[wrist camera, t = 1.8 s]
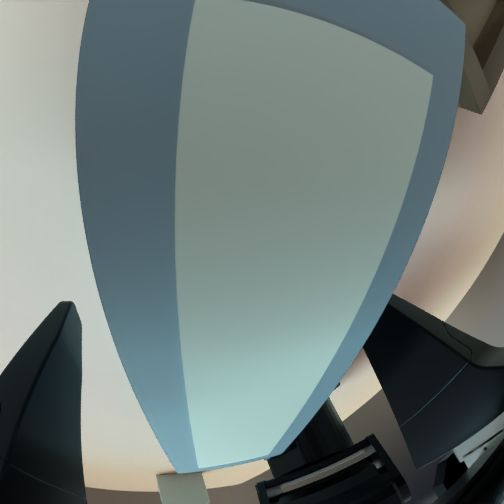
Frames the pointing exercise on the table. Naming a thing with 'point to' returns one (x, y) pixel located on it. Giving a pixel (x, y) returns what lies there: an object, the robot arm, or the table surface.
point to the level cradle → (480, 49)
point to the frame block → (255, 198)
